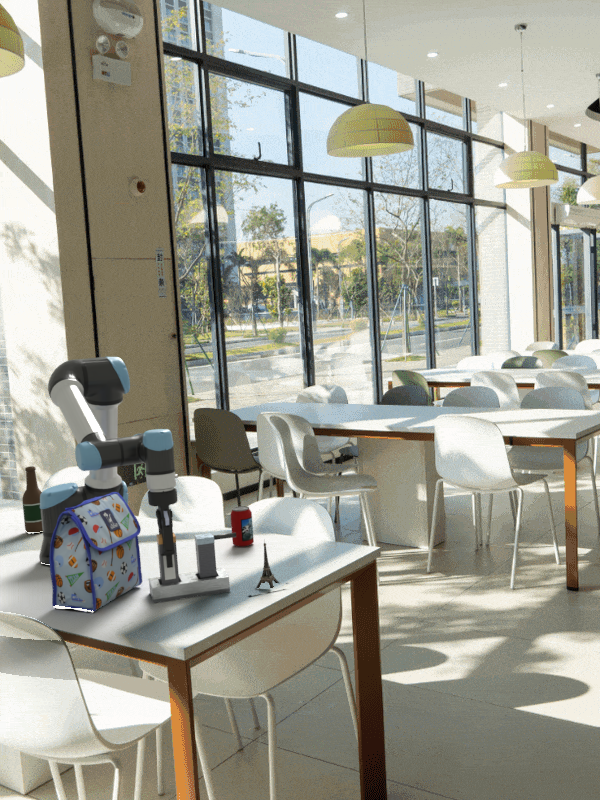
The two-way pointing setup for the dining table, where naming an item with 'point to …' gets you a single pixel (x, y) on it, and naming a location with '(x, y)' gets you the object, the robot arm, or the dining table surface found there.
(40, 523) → the beer bottle
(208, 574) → the pdu strip
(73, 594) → the lunch bag
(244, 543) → the beverage can
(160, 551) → the plug
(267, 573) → the eiffel tower figurine
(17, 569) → the dining table surface
